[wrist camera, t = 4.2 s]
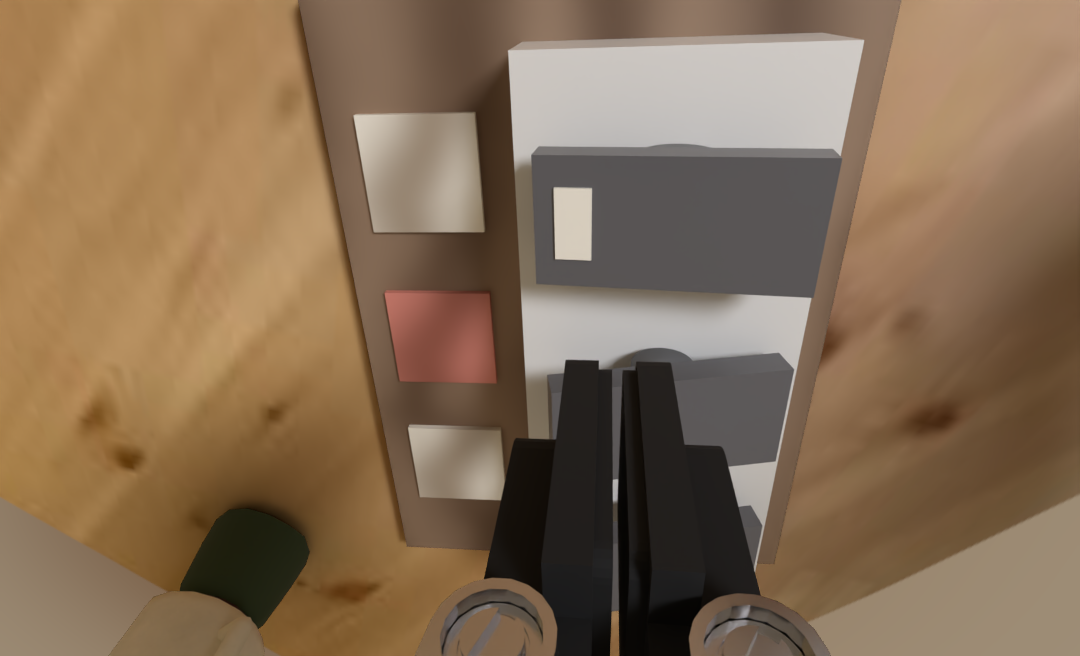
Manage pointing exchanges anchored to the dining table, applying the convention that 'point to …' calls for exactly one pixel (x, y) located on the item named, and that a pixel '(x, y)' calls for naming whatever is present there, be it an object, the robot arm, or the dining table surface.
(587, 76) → the switch housing
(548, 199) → the block
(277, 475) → the dining table surface
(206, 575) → the character mug
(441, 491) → the chart board
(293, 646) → the dining table surface
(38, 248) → the dining table surface
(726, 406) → the rocker middle
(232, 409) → the dining table surface
